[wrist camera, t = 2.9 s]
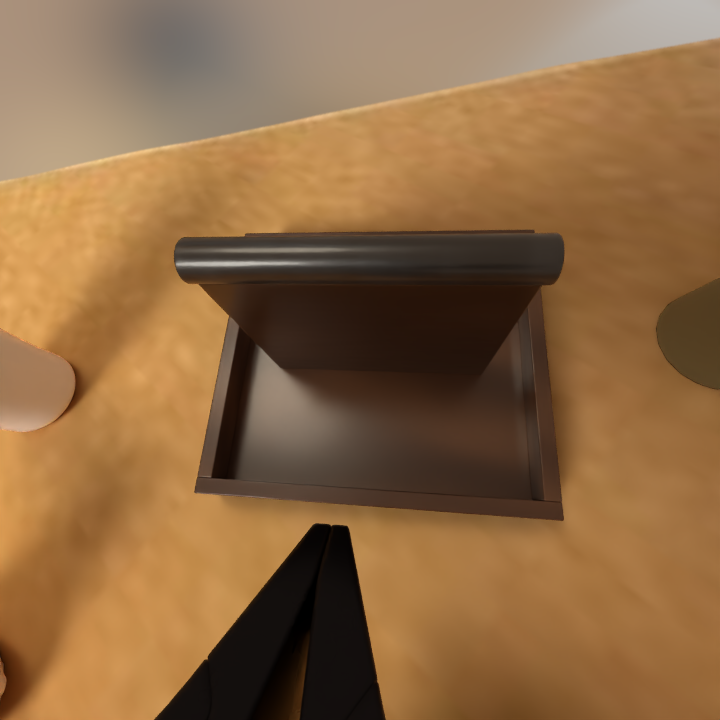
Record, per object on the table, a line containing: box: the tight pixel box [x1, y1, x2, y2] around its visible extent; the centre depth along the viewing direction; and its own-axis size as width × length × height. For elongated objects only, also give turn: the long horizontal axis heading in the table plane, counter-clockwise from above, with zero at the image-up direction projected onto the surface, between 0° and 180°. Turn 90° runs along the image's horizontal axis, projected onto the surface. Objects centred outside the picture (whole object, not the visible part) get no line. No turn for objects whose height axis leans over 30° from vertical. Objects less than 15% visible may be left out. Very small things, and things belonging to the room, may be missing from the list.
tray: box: [174, 230, 564, 521], centre depth 18 cm, size 16×18×12 cm
